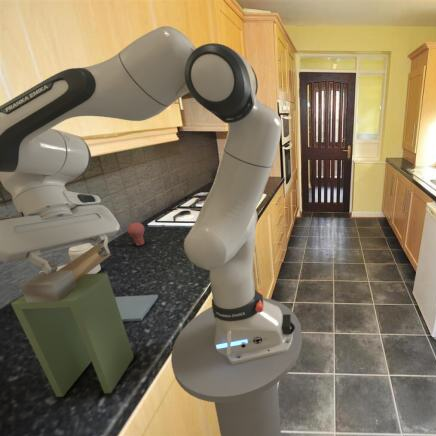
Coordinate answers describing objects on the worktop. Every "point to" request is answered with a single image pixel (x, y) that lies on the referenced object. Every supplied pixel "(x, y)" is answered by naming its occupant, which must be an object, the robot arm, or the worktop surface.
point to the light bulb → (137, 232)
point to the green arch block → (78, 334)
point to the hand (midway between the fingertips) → (81, 263)
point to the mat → (134, 306)
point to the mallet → (60, 278)
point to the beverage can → (78, 251)
